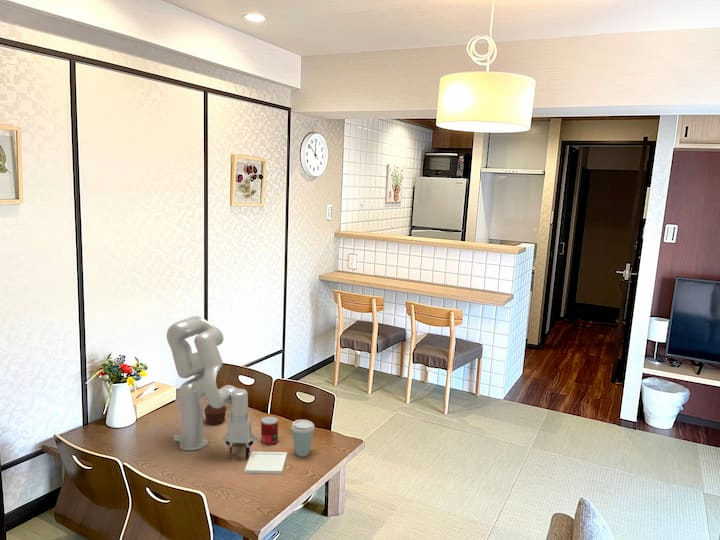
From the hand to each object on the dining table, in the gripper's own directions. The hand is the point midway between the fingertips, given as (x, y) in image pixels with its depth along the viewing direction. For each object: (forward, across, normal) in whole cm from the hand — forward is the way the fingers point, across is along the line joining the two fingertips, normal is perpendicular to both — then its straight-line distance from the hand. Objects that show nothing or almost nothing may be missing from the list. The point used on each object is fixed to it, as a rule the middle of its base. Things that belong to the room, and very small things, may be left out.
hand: (239, 454), depth 245 cm
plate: (+1, +13, -6) cm, 14 cm away
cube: (+1, 0, 0) cm, 1 cm away
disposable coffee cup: (+1, +28, +4) cm, 28 cm away
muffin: (+1, -20, +35) cm, 40 cm away
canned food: (+1, +11, +15) cm, 19 cm away
